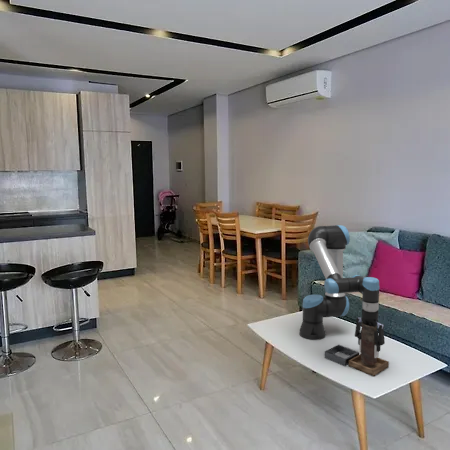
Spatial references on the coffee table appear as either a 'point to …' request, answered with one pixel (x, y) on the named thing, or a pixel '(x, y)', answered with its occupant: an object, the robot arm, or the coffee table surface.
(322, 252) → the robot arm
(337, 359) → the collar
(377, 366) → the tray
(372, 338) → the rusty brown cylinder
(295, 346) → the coffee table surface
